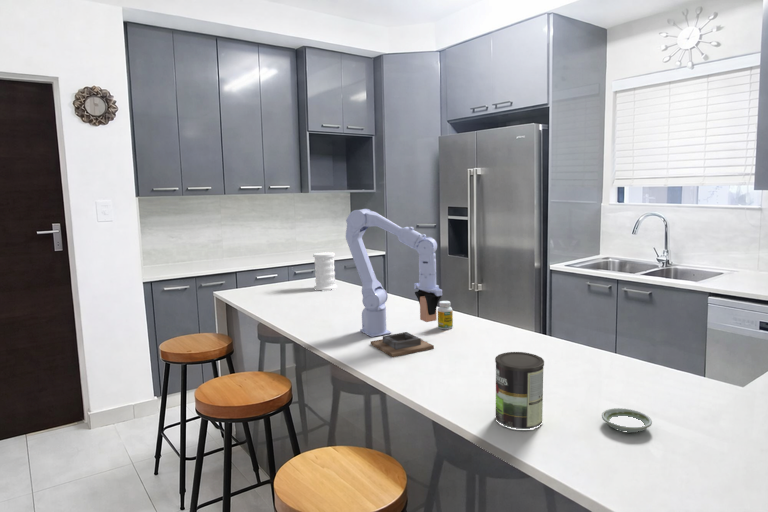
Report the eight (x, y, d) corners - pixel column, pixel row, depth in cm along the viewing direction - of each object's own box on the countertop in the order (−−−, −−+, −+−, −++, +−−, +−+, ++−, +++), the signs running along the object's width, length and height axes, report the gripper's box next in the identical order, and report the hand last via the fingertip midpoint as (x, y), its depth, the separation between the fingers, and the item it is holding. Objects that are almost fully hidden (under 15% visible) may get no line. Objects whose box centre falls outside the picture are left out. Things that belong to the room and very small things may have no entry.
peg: (420, 319, 178) (419, 296, 176) (430, 317, 179) (429, 295, 178) (426, 322, 174) (426, 298, 173) (436, 320, 176) (436, 297, 175)
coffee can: (503, 433, 109) (503, 369, 107) (489, 411, 119) (489, 352, 117) (551, 430, 110) (552, 366, 108) (533, 409, 120) (533, 350, 118)
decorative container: (311, 290, 259) (309, 255, 257) (318, 286, 270) (316, 252, 268) (333, 291, 257) (332, 255, 255) (339, 286, 269) (338, 252, 266)
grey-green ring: (636, 416, 115) (637, 406, 115) (661, 437, 105) (661, 426, 105) (593, 418, 115) (593, 408, 114) (614, 440, 105) (614, 428, 105)
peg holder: (370, 344, 171) (370, 335, 171) (409, 336, 178) (409, 328, 178) (392, 357, 158) (392, 347, 158) (433, 348, 165) (433, 339, 164)
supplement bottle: (446, 324, 192) (445, 299, 190) (455, 328, 187) (455, 302, 186) (434, 327, 189) (434, 301, 187) (444, 330, 184) (444, 304, 183)
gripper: (449, 275, 170) (450, 315, 172) (426, 269, 183) (426, 307, 185) (431, 277, 167) (432, 318, 169) (408, 271, 179) (409, 309, 181)
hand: (428, 313), depth 176 cm, fingers closed on peg, 4 cm apart
